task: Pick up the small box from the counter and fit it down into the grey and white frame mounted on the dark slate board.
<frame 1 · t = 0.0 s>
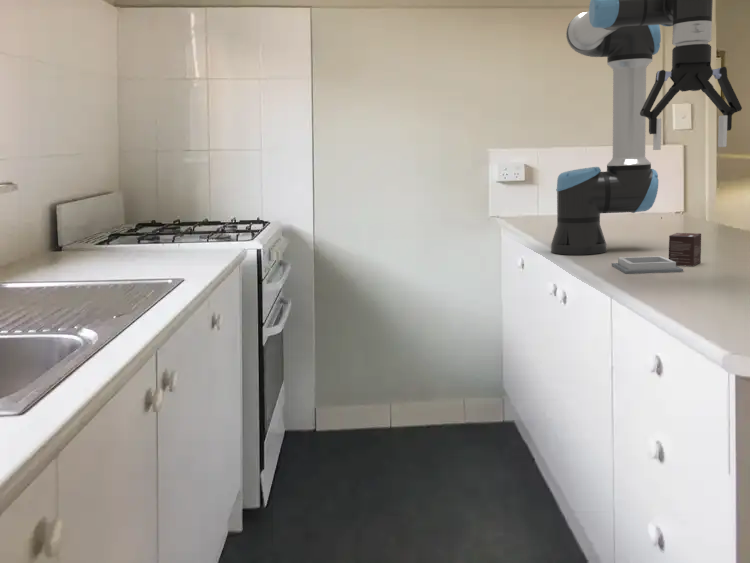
hand: (689, 148, 163), 28 cm above the worktop, fingers open, 13 cm apart
box: (684, 265, 187), on the worktop
grey and white frame: (646, 268, 182), on the worktop
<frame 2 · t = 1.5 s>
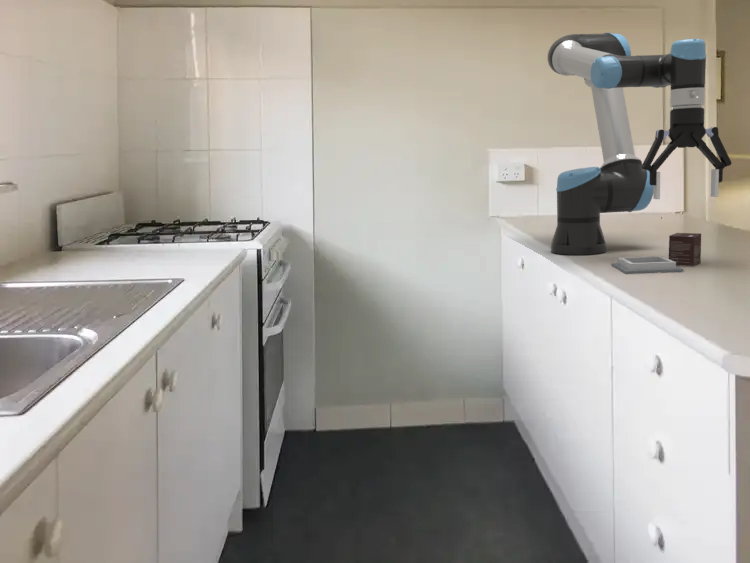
hand: (685, 198, 184), 16 cm above the worktop, fingers open, 13 cm apart
nothing on the worktop moved.
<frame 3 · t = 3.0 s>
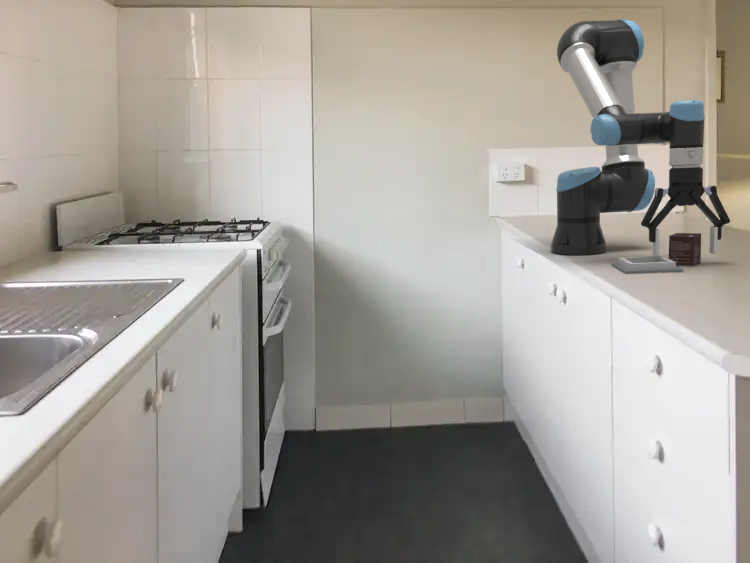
hand: (684, 254, 186), 2 cm above the worktop, fingers open, 13 cm apart
nothing on the worktop moved.
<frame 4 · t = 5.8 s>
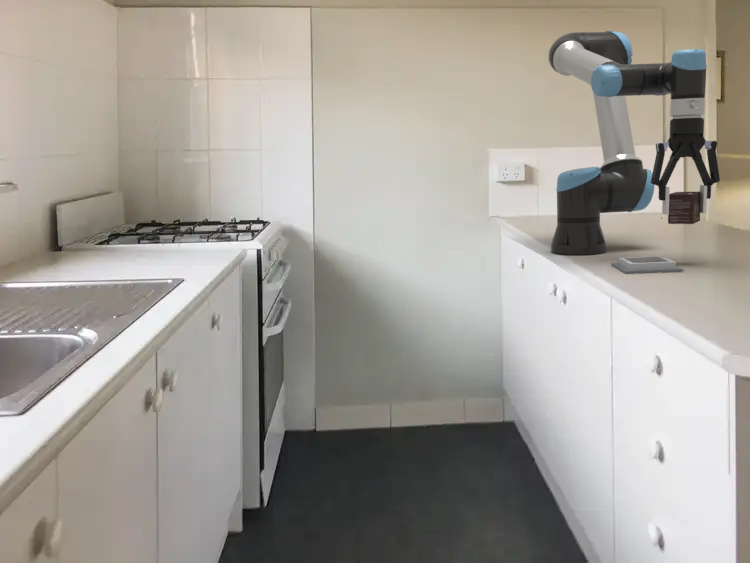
hand: (684, 213, 185), 12 cm above the worktop, fingers closed on box, 8 cm apart
box: (684, 223, 186), point 10 cm above the worktop, touching gripper
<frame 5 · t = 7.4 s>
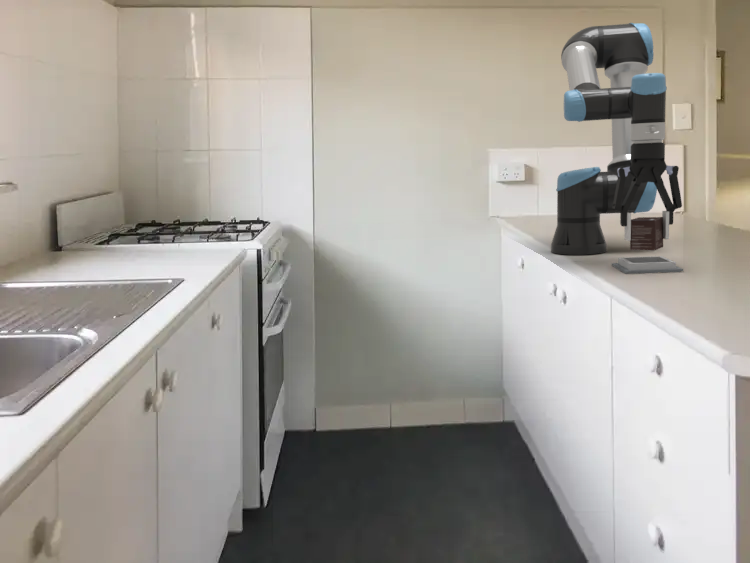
hand: (646, 239, 181), 7 cm above the worktop, fingers closed on box, 8 cm apart
box: (646, 249, 182), point 4 cm above the worktop, touching gripper
when the fingers open (4 cm above the worktop, at t = 9.1 s): box drops 1 cm, resting on grey and white frame.
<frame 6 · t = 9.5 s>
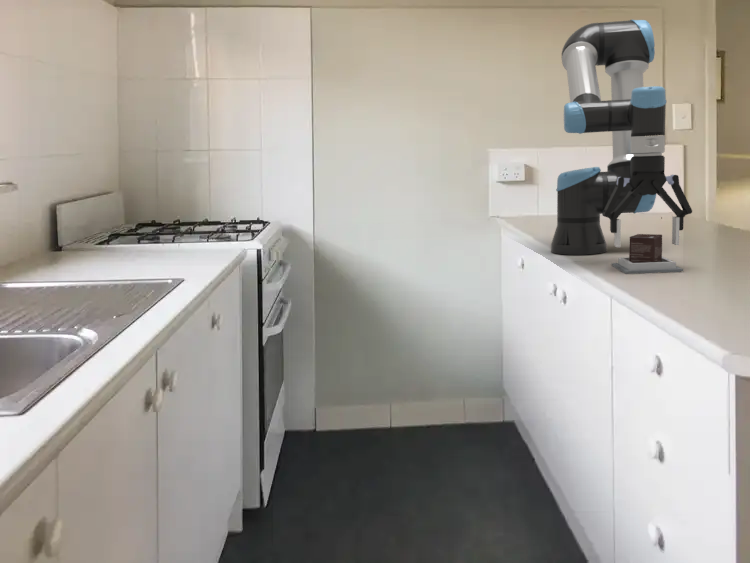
hand: (646, 245, 182), 5 cm above the worktop, fingers open, 13 cm apart
box: (645, 266, 182), resting on grey and white frame
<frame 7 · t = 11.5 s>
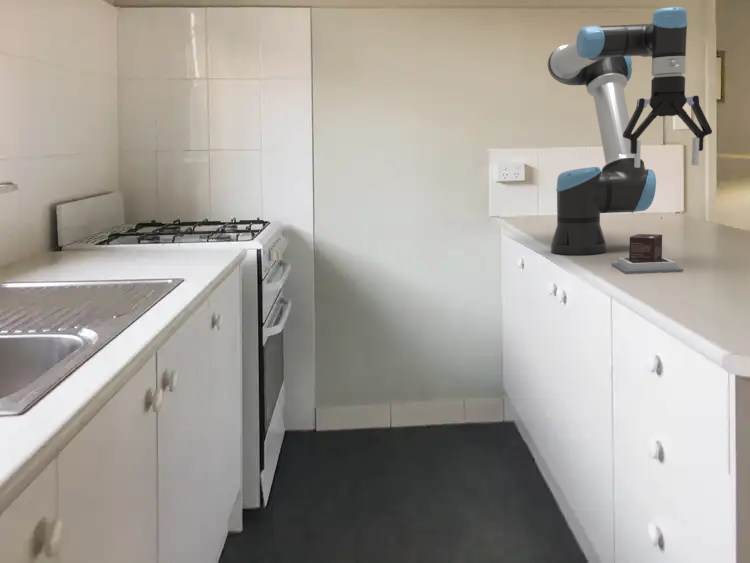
hand: (666, 166, 186), 24 cm above the worktop, fingers open, 13 cm apart
nothing on the worktop moved.
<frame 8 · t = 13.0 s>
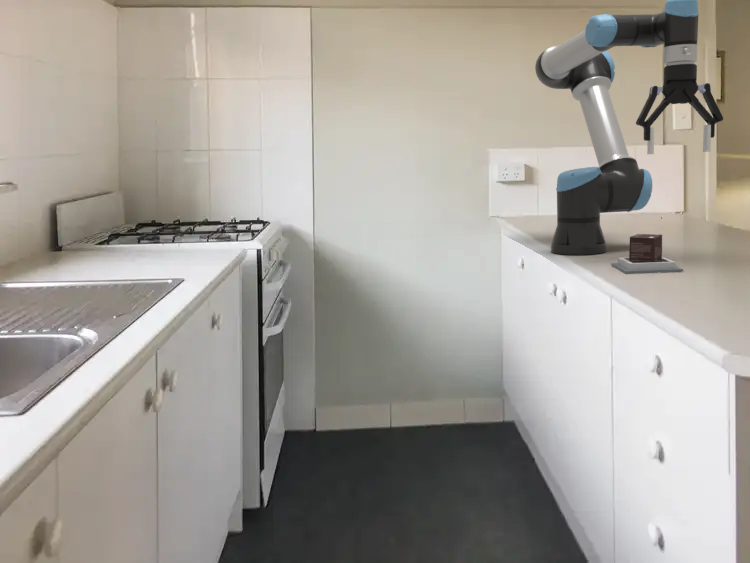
hand: (678, 153, 189), 27 cm above the worktop, fingers open, 13 cm apart
nothing on the worktop moved.
at the end: box 0.1 cm off-centre on the grey and white frame, point 0.4 cm above the grey and white frame's base; box tilted 0°; the gripper is holding nothing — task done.
